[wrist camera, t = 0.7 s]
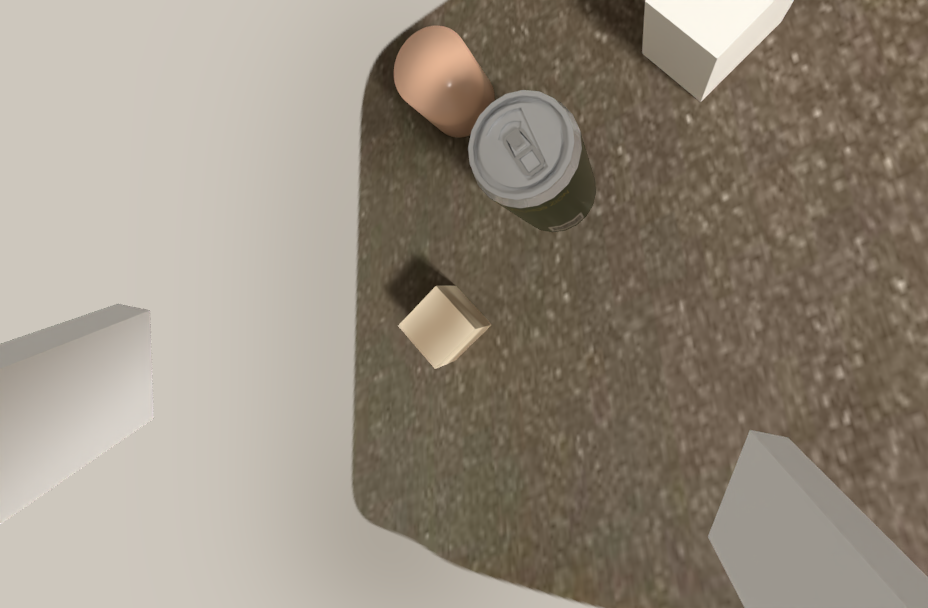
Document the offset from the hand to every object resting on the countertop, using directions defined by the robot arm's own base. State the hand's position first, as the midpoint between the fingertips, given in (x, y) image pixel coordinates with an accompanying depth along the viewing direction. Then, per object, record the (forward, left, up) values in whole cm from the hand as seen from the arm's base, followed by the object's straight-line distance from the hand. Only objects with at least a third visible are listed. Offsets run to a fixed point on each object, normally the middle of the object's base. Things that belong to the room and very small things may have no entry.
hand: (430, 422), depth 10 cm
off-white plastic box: (-5, -20, -24) cm, 31 cm away
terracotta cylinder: (+11, -15, -24) cm, 30 cm away
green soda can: (+3, -9, -24) cm, 26 cm away
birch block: (+8, +1, -24) cm, 25 cm away
